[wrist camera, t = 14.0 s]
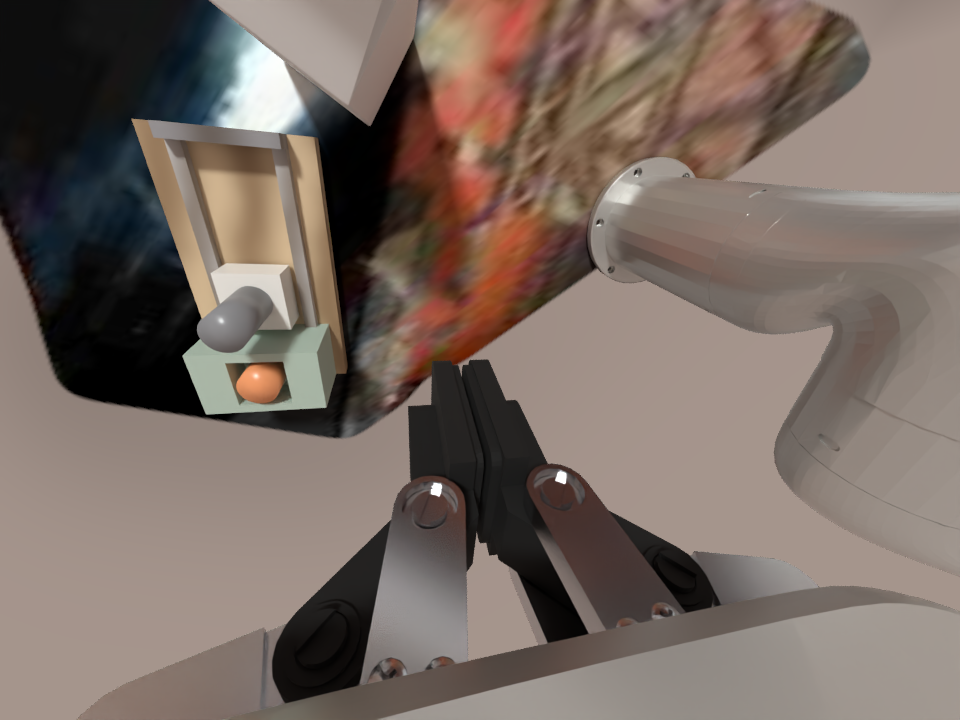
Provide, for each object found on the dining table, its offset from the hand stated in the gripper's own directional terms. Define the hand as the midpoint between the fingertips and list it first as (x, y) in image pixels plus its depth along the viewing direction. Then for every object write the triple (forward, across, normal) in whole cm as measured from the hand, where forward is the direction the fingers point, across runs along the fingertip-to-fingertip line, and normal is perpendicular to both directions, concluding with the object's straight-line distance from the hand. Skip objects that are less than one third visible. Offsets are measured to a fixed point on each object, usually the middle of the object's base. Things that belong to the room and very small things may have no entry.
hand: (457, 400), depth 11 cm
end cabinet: (+27, +14, +12) cm, 33 cm away
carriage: (+25, +14, +6) cm, 29 cm away
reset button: (+22, +14, +12) cm, 29 cm away
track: (+27, +14, +4) cm, 31 cm away
